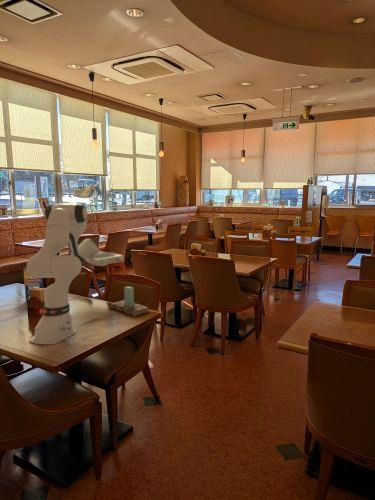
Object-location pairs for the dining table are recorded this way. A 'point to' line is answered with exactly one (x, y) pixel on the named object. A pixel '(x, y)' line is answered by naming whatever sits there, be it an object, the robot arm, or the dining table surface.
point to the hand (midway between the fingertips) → (115, 261)
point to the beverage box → (31, 282)
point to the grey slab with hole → (130, 308)
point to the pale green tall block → (129, 296)
